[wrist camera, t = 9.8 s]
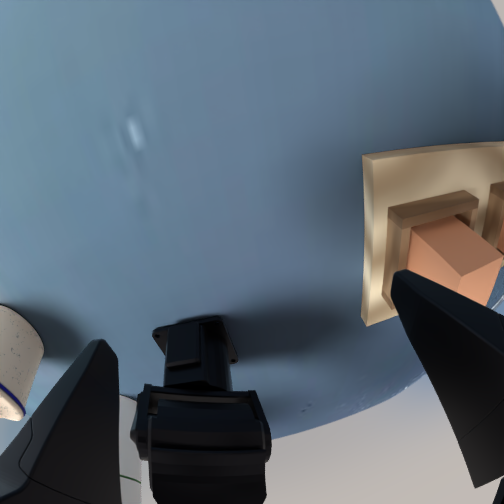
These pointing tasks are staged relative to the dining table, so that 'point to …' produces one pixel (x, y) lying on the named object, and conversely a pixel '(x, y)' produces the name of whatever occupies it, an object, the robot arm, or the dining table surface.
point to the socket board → (425, 207)
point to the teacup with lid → (17, 362)
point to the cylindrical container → (128, 454)
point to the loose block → (454, 257)
